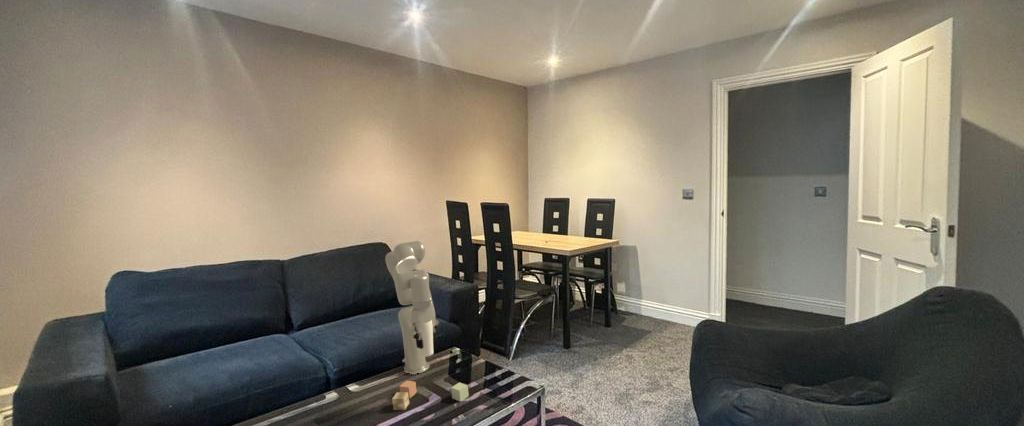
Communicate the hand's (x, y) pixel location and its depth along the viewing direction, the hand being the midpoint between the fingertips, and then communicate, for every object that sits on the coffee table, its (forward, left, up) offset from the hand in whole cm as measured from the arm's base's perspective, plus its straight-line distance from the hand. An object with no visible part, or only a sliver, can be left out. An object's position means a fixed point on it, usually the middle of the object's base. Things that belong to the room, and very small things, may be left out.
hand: (426, 344), depth 191 cm
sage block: (+10, +7, -25) cm, 27 cm away
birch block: (-7, -11, -25) cm, 28 cm away
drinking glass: (0, 0, -5) cm, 5 cm away
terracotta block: (-12, -3, -25) cm, 27 cm away
